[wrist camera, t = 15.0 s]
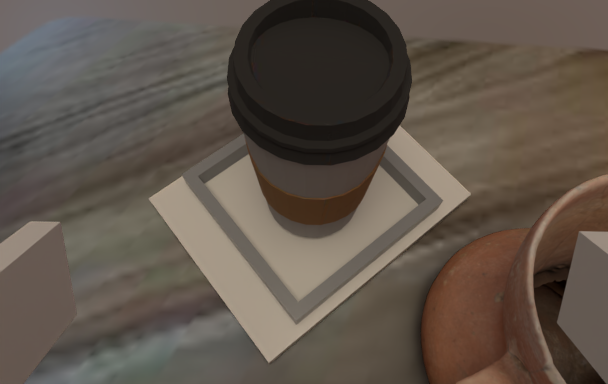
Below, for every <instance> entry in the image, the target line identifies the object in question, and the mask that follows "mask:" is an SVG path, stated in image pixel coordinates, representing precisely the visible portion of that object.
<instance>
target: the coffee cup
mask: <svg viewBox="0 0 608 384" xmlns="http://www.w3.org/2000/svg"><path fill="white" fill-rule="evenodd" d="M227 81H228V86H229V87H228V97H229V101H230V106H231V110H232V114H233V116H234V117H235V119H236V121H237V122H238V124H239V126H240V128H241V129H242V131H243V133H244V137H245V141H246V145H247V149H248V153H249V156H250V159H251V162H252V165H253V168H254V171H255V173H256V176H257V179H258V182H259V185H260V188H261V191H262V193H263V195H264V197H265V199H266V201H267V204H268V207H269V210H270V212H271V213H272V215H273V217H274V219H275V220H276V221H277V222H278V223H279V224H280V225H281V226H282V227H283V228H284V229H286V230H288V231H290V232H291V233H293V234H296V235H299V236H303V237H315V238H319V237H323V236H327V235H331V234H333V233H335V232H337V231H339V230H341V229H342V228H343V227H344V226H345V225H346V224H347V223H348V222H349V221H350V220H351V218H352V217H353V215H354V213H355V212H356V210H357V208H358V206H359V204H360V203H361V201H362V199H363V198H364V196H365V194H366V192H367V189H368V187H369V185H370V183H371V181H372V179H373V177H374V175H375V173H376V171H377V169H378V166H379V164H380V162H381V160H382V158H383V156H384V154H385V150H386V147H387V143H388V141H389V139H390V137H392V136H393V135H394V133H395V132H396V130H397V129H398V127H399V125H400V124H401V122H402V120H403V119H404V117H405V114H406V110H407V105H408V101H409V92H410V88H411V83H412V76H411V65H410V60H409V58H408V55H407V49H406V43H405V41H404V39H403V36H402V34H401V32H400V29H399V28H398V27H397V25H396V24H395V23H394V22H393V20H392V19H391V18H390V17H389V15H388V14H387V13H385V12H384V11H383V10H381V9H380V8H379V7H377V6H376V5H375V4H373V3H372V2H370V1H368V0H270V1H268V2H267V3H266V4H264V5H263V6H261V7H260V8H258V9H257V10H255V11H254V12H253V14H252V15H251V16H250V17H249V18H248V19H247V21H246V22H245V23H244V24H243V25H242V27H241V30H240V32H239V34H238V36H237V38H236V41H235V46H234V48H233V51H232V53H231V55H230V57H229V65H228V74H227Z"/></svg>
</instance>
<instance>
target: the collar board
mask: <svg viewBox="0 0 608 384" xmlns="http://www.w3.org/2000/svg"><path fill="white" fill-rule="evenodd" d="M470 195H471V193H470V192H469V191H467V190H466V189H465V188H464V187H463V186H462V185H461V184H460V183H459V182H458V181H457V180H456V179H455V178H454V177H453V176H452V175H451V174H450V173H449V172H448V171H447V170H446V169H445V168H444V167H442V166H441V165H440V164H439V163H438V162H437V161H436V160H435V159H434V158H433V157H432V156H431V155H430V154H429V153H428V152H427V151H426V150H425V149H424V148H423V147H422V146H421V145H420V144H419V143H417V142H416V141H415V140H414V139H413V138H412V137H411V136H410V135H409V134H408V133H407V132H406V131H405V130H404V129H403V128H402V127H401V126H400V125H399V127H398V129H397V130H396V132H395V133H394V135H393V136H392V137H390V139H389V141H388V143H387V147H386V150H385V154H384V156H383V158H382V160H381V162H380V164H379V166H378V169H377V171H376V173H375V175H374V177H373V179H372V181H371V183H370V185H369V187H368V189H367V192H366V194H365V196H364V198H363V199H362V201H361V203H360V204H359V206H358V208H357V210H356V212H355V213H354V215H353V217H352V218H351V220H350V221H349V222H348V223H347V224H346V225H345V226H344V227H343V228H342V229H341V230H339V231H337V232H335V233H333V234H331V235H327V236H323V237H319V238H315V237H303V236H299V235H296V234H293V233H291V232H290V231H288V230H286V229H284V228H283V227H282V226H281V225H280V224H279V223H278V222H277V221H276V220H275V219H274V217H273V215H272V213H271V212H270V210H269V207H268V204H267V201H266V199H265V197H264V195H263V193H262V191H261V188H260V185H259V182H258V179H257V176H256V173H255V171H254V168H253V165H252V162H251V159H250V156H249V153H248V149H247V145H246V141H245V137H244V134H242V135H241V136H239V137H238V138H236V139H235V140H233V141H232V142H230V143H228V144H227V145H225V146H224V147H222V148H221V149H219V150H218V151H216V152H215V153H213V154H212V155H210V156H209V157H207V158H206V159H204V160H203V161H201V162H200V163H198V164H197V165H195V166H194V167H192V168H191V169H189V170H188V171H186V172H185V173H183V174H182V177H180V178H179V179H177V180H176V181H174V182H173V183H171V184H170V185H168V186H167V187H165V188H164V189H162V190H161V191H159V192H158V193H156V194H155V195H153V196H152V197H150V198H149V200H150V201H151V203H152V204H153V205H154V207H155V208H156V209H157V211H158V212H159V214H160V215H161V216H162V218H163V219H164V220H165V222H166V223H167V224H168V226H169V227H170V229H171V230H172V231H173V233H174V234H175V235H176V237H177V238H178V239H179V241H180V242H181V244H182V245H183V246H184V248H185V249H186V250H187V252H188V253H189V255H190V256H191V257H192V259H193V260H194V261H195V263H196V264H197V265H198V267H199V268H200V270H201V271H202V272H203V274H204V275H205V276H206V278H207V279H208V281H209V282H210V283H211V285H212V286H213V287H214V289H215V290H216V291H217V293H218V294H219V296H220V297H221V298H222V300H223V301H224V302H225V304H226V305H227V307H228V308H229V309H230V311H231V312H232V313H233V315H234V316H235V317H236V319H237V320H238V322H239V323H240V324H241V326H242V327H243V328H244V330H245V331H246V333H247V334H248V335H249V337H250V338H251V339H252V341H253V342H254V343H255V345H256V346H257V348H258V349H259V350H260V352H261V353H262V354H263V356H264V357H265V358H266V360H267V361H268V363H269V364H271V363H272V362H273V361H274V360H275V359H277V358H278V357H279V356H280V355H281V354H283V353H284V352H285V351H286V350H287V349H289V348H290V347H291V346H292V345H293V344H295V343H296V342H297V341H298V340H299V339H301V338H302V337H303V336H304V335H305V334H307V333H308V332H309V331H310V330H311V329H313V328H314V327H315V326H316V325H317V324H319V323H320V322H321V321H322V320H323V319H325V318H326V317H327V316H328V315H329V314H331V313H332V312H333V311H334V310H335V309H337V308H338V307H339V306H340V305H341V304H343V303H344V302H345V301H346V300H347V299H349V298H350V297H351V296H352V295H353V294H354V293H356V292H357V291H358V290H359V289H360V288H362V287H363V286H364V285H365V284H366V283H368V282H369V281H370V280H371V279H372V278H374V277H375V276H376V275H377V274H378V273H380V272H381V271H382V270H383V269H384V268H386V267H387V266H388V265H389V264H390V263H392V262H393V261H394V260H395V259H396V258H398V257H399V256H400V255H401V254H402V253H404V252H405V251H406V250H407V249H408V248H410V247H411V246H412V245H413V244H414V243H416V242H417V241H418V240H419V239H420V238H422V237H423V236H424V235H425V234H426V233H428V232H429V231H430V230H431V229H432V228H434V227H435V226H436V225H437V224H438V223H440V222H441V221H442V220H443V219H444V218H446V217H447V216H448V215H449V214H450V213H452V212H453V211H454V210H455V209H456V208H458V207H459V206H460V205H461V204H462V203H464V202H465V201H466V200H467V199H468V198H469V196H470Z"/></svg>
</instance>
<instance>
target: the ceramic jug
mask: <svg viewBox="0 0 608 384" xmlns="http://www.w3.org/2000/svg"><path fill="white" fill-rule="evenodd" d="M579 231H592V232H608V174H606V175H602V176H599V177H596V178H594V179H591V180H588V181H586V182H584V183H582V184H580V185H578V186H576V187H575V188H572V189H571V190H569V191H568V192H567V193H565V194H564V195H562V196H561V197H560V198H559V199H558V200H557V201H555V202H554V203H553V204H552V205H551V206H550V207H549V208H548V209H547V210H546V211H545V212H544V213H543V214H542V215H541V217H540V218H539V219H538V220H537V222H536V223H535V224H534V225H533V227H532V228H531V229H529V228H524V229H512V230H505V231H500V232H496V233H492V234H490V235H487V236H484V237H482V238H479V239H477V240H475V241H473V242H472V243H470V244H468V245H467V246H465V247H463V248H462V249H461V250H459V251H458V252H457V253H456V254H455V255H453V256H452V257H451V258H450V260H449V261H448V262H447V263H446V264H445V265H444V267H443V268H442V270H441V271H440V273H439V274H438V276H437V277H436V279H435V280H434V282H433V284H432V286H431V288H430V290H429V292H428V295H427V298H426V301H425V305H424V310H423V315H422V322H421V346H422V353H423V360H424V365H425V369H426V373H427V376H428V379H429V383H430V384H606V383H605V381H604V380H603V379H602V378H601V377H600V375H599V374H598V373H597V372H596V370H595V369H594V368H593V367H592V365H591V364H590V363H589V362H588V361H587V359H586V358H585V357H584V356H583V354H582V353H581V352H580V351H579V349H578V348H577V347H576V346H575V345H574V343H573V342H572V341H571V340H570V338H569V337H568V336H567V335H566V333H565V332H564V331H563V330H562V328H561V327H560V326H559V325H558V324H557V320H558V316H559V312H560V308H561V304H562V300H563V296H564V291H565V287H566V283H567V279H568V275H569V271H570V267H571V263H572V258H573V254H574V250H575V246H576V242H577V238H578V234H579Z"/></svg>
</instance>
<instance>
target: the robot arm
mask: <svg viewBox="0 0 608 384" xmlns="http://www.w3.org/2000/svg"><path fill="white" fill-rule="evenodd" d="M76 315H77V311H76V306H75V300H74V294H73V289H72V283H71V278H70V272H69V266H68V261H67V255H66V250H65V244H64V239H63V233H62V227H61V222H35V221H30V222H29V223H28V224H26V225H25V226H23V227H22V228H21V229H19V230H18V231H17V232H15V233H14V234H13V235H11V236H10V237H9V238H7V239H6V240H5V241H3V242H2V243H1V244H0V384H23V383H24V382H25V381H26V379H27V378H28V377H29V376H30V374H31V373H32V372H33V370H34V369H35V368H36V367H37V365H38V364H39V363H40V361H41V360H42V359H43V357H44V356H45V355H46V354H47V352H48V351H49V350H50V348H51V347H52V346H53V345H54V343H55V342H56V341H57V339H58V338H59V337H60V335H61V334H62V333H63V332H64V330H65V329H66V328H67V326H68V325H69V324H70V323H71V321H72V320H73V319H74V317H75V316H76ZM557 324H558V325H559V326H560V327H561V328H562V330H563V331H564V332H565V333H566V335H567V336H568V337H569V338H570V340H571V341H572V342H573V343H574V345H575V346H576V347H577V348H578V349H579V351H580V352H581V353H582V354H583V356H584V357H585V358H586V359H587V361H588V362H589V363H590V364H591V365H592V367H593V368H594V369H595V370H596V372H597V373H598V374H599V375H600V377H601V378H602V379H603V380H604V381H605V383H606V384H608V232H592V231H579V234H578V238H577V242H576V246H575V250H574V254H573V258H572V263H571V267H570V271H569V275H568V279H567V283H566V287H565V291H564V296H563V300H562V304H561V308H560V312H559V316H558V320H557Z"/></svg>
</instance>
